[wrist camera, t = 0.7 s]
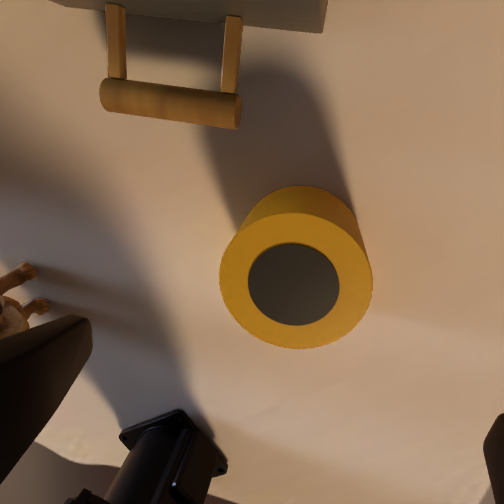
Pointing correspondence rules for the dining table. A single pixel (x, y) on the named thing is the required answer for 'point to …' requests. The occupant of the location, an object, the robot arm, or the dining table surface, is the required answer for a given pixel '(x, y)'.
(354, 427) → the dining table surface
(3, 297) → the lion figurine
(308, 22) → the drawer
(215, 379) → the dining table surface
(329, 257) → the tape roll
